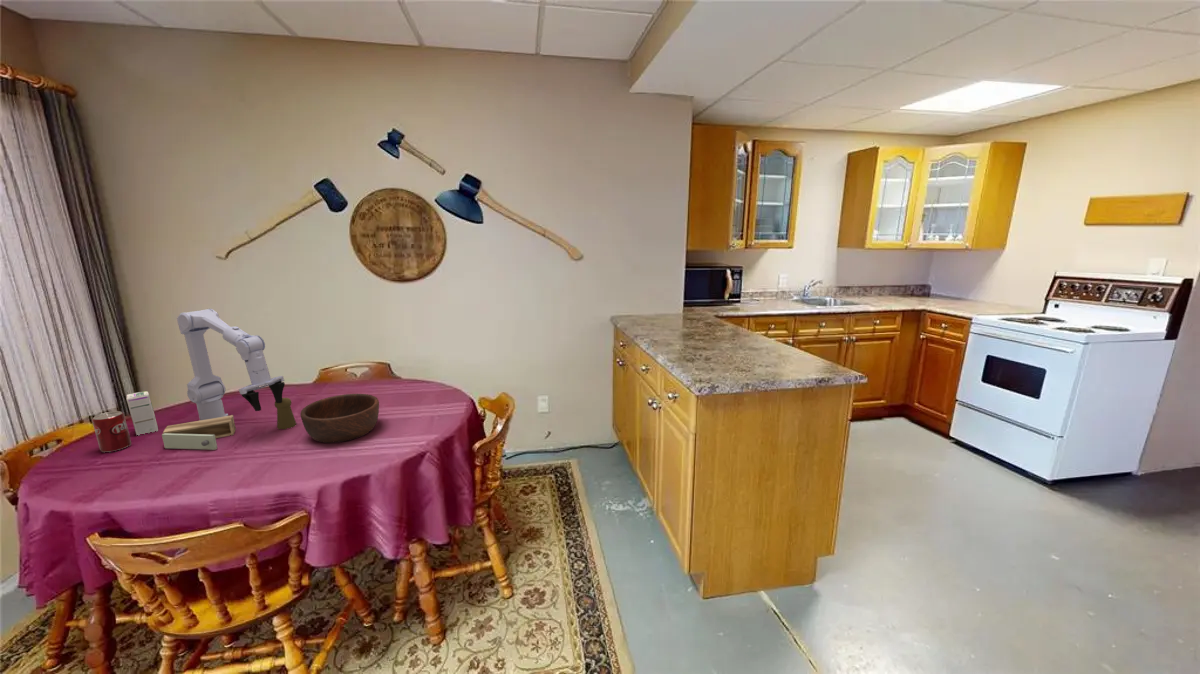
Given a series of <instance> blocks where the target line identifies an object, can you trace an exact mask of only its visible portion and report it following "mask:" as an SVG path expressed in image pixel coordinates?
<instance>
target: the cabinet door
mask: <svg viewBox="0 0 1200 674" xmlns="http://www.w3.org/2000/svg"><path fill="white" fill-rule="evenodd" d="M161 437H162V442H163V445H164V448H165V449H179V450H180V449H181V450H183V449H186V450H211V451H212V450H213V451H214V450H217V449H218V445H217V444H218V443H217V438H215V435H207V434H172V433H164V434H163V433H162V434H161Z"/></svg>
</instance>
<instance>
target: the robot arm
mask: <svg viewBox="0 0 1200 674" xmlns="http://www.w3.org/2000/svg"><path fill="white" fill-rule="evenodd" d="M176 319H177V325H178V329H179V331H180V335H184V340H185V343H186V347H187V351H188V354H189V355H188V356H189V361H190V363H191V367H192V368H191V369H192V371H193V376H194V377H193V378H191V380H190V381H189V382H187V384H186V387H187V392H186V393H187V397H188V398H187V399H188V400H189V401H191V402H192V403H194V404H196V409H197V412H198V418H199V421H200V420H206V419H212V418H218V417H224V416H229V413H226V412H225V409H224V404H223V400H222V398H224V395H225V394H226V386H225V384H224V382H223V380H222V377H220V376H218V375H216V374H214V373H213V370H212V364H211V362H210V358H209V352H208V347H207V345H206V340H205V336H204V335H205V333H206V332H208V330H209V329H211V330H213V331H215V332H217V333H219V334H221V335H222V338H223V340H224V341H225V342H227V343H229V344H231V345H233V346H234V347H235V349H236V351H237V353H238V354H239V355H240V358H241V359H242V361H244V363H245V366H246V370H247V373H248V377H249V380H250V383H251V384H248V385H246V386H243V387H241V388H239V389H238V391H239V395H241V397H242V398H244V400H246V401H248V403H249V404H250V405H251V407H252V408H253V410H254V411H255V412H260V411H262V407H261V403H260V396H259V393H260V392H259V391H257V390H259V389H263V388H266V387H268V388H269V390H270V391H271V393H272V395H273V398H274V400H275V401H276V403H282V398H283V391H284V387H285V385H286V384H285V379H284V376H283V375H279V376H276V377H272V376H271V374H270V371H269V368H268V364H267V360H266V357H265V353H264V350H265V349H266V343H265V341H264V339H263V338H262V337H261V336H260V335H258V334H255V335H254V334H252V335H251V334H250V333H247V332H246V331H245V330H243V329H241V328H240V327H239V326H235V325H234V326H230V325H229V324H228V323H226V322H225V321H224V320H223V319H221V318H220V316H219V313H218V312H217V311H216V310H214V309H213V308H207V309H202V310H194V311H188V312H187V311H184V312H180V313H179V314H178V316H177V317H176ZM275 401H274V402H275Z"/></svg>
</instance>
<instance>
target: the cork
mask: <svg viewBox="0 0 1200 674" xmlns="http://www.w3.org/2000/svg"><path fill="white" fill-rule="evenodd" d="M291 406H292V400H291V399H290V398H289V397H282V403H276V401H274V408H275V409H276V419H277V420H276V424H277V425H276V426H277V427H276V428H278V429H277V430H280V429H283V430H288V429H287V428H289V429H292V428H294V427H296V426H297V422H296V419H295V416H294V413H293V410H292V407H291ZM295 425H296V426H295ZM291 427H292V428H291Z"/></svg>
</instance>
